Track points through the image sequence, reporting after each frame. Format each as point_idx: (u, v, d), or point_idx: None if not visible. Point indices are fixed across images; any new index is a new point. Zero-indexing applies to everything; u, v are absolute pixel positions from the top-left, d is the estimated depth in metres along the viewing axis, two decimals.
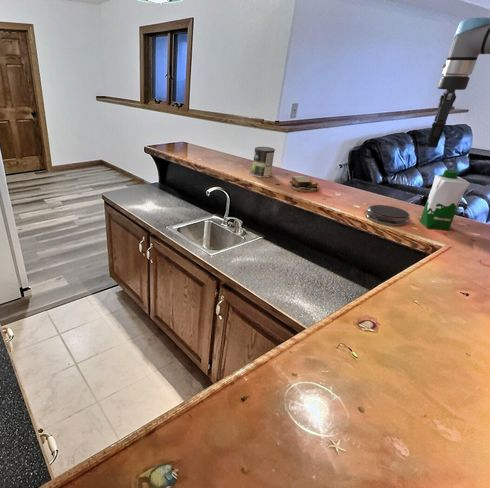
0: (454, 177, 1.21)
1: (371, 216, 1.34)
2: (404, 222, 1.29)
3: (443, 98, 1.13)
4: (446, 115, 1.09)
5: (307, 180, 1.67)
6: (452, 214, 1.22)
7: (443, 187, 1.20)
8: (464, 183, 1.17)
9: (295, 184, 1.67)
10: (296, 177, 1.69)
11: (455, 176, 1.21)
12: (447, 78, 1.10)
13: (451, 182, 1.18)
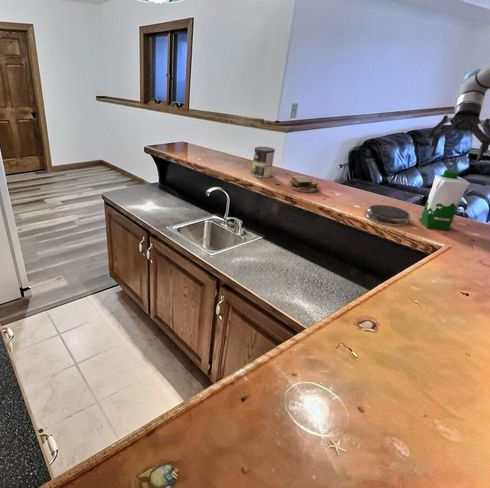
0: (454, 177, 1.21)
1: (371, 216, 1.34)
2: (404, 222, 1.29)
3: None
4: None
5: (307, 180, 1.67)
6: (452, 214, 1.22)
7: (443, 187, 1.20)
8: (464, 183, 1.17)
9: (295, 184, 1.67)
10: (296, 177, 1.69)
11: (455, 176, 1.21)
12: None
13: (451, 182, 1.18)
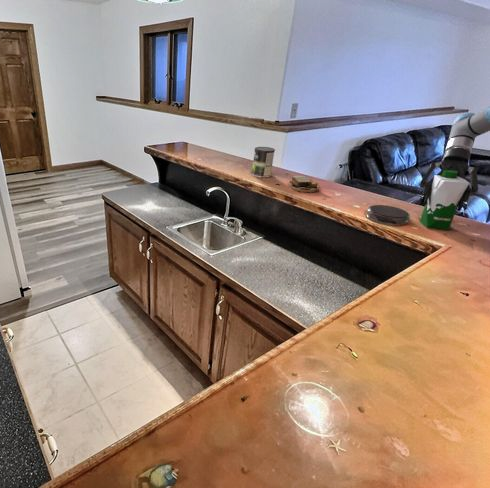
0: (453, 177, 1.21)
1: (371, 216, 1.34)
2: (404, 222, 1.29)
3: None
4: (424, 176, 1.28)
5: (307, 180, 1.67)
6: (452, 214, 1.22)
7: (442, 187, 1.20)
8: (463, 183, 1.17)
9: (295, 184, 1.67)
10: (296, 177, 1.69)
11: (454, 176, 1.21)
12: None
13: (450, 182, 1.18)
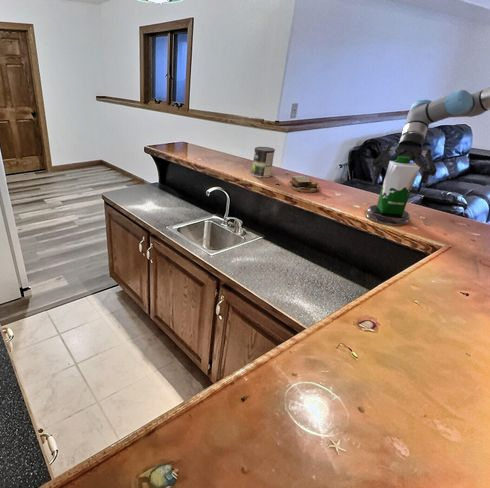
0: (406, 162, 1.25)
1: (371, 216, 1.34)
2: (404, 222, 1.29)
3: None
4: None
5: (307, 180, 1.67)
6: (405, 198, 1.26)
7: (395, 171, 1.24)
8: (414, 167, 1.21)
9: (295, 184, 1.67)
10: (296, 177, 1.69)
11: (407, 161, 1.25)
12: None
13: (402, 167, 1.22)
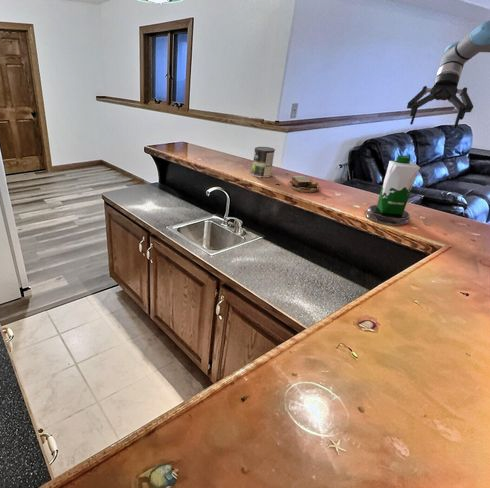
0: (406, 162, 1.25)
1: (371, 216, 1.34)
2: (404, 222, 1.29)
3: None
4: None
5: (307, 180, 1.67)
6: (405, 198, 1.26)
7: (395, 171, 1.24)
8: (414, 167, 1.21)
9: (295, 184, 1.67)
10: (296, 177, 1.69)
11: (407, 161, 1.25)
12: None
13: (402, 167, 1.22)
